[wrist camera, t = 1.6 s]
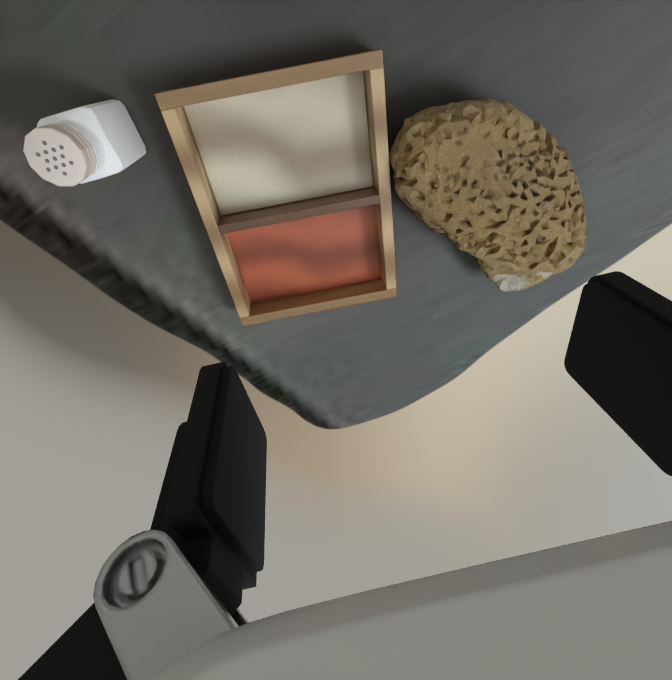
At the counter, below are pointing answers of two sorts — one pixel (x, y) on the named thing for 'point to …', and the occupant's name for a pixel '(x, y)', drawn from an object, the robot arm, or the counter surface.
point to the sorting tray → (292, 183)
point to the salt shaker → (84, 144)
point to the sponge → (493, 188)
